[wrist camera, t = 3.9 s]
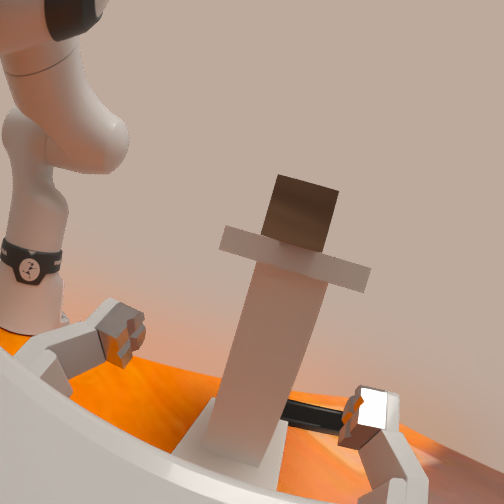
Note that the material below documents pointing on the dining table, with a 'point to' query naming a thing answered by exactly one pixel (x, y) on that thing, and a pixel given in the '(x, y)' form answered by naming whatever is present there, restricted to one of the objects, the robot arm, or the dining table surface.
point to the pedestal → (264, 357)
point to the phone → (312, 417)
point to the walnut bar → (299, 213)
